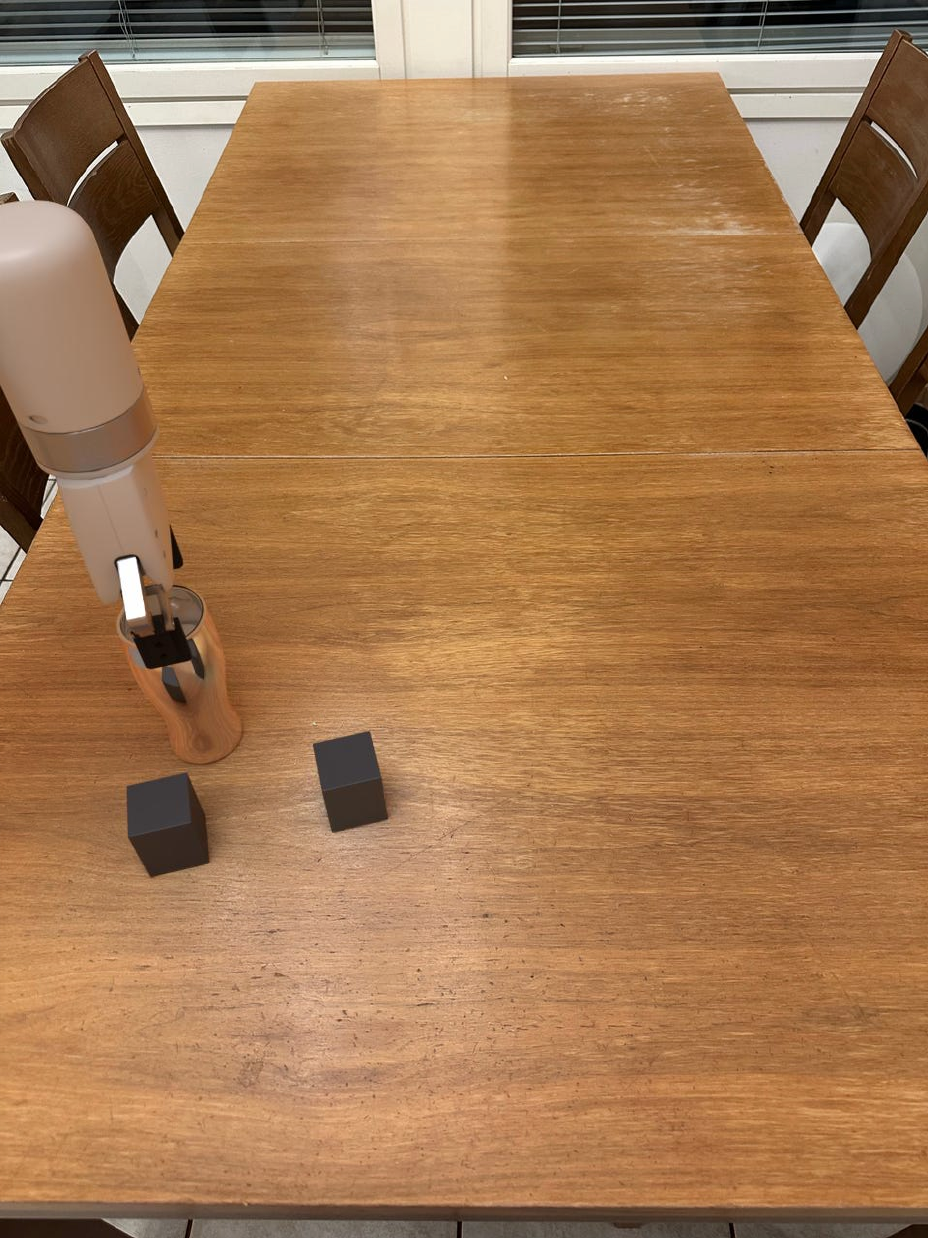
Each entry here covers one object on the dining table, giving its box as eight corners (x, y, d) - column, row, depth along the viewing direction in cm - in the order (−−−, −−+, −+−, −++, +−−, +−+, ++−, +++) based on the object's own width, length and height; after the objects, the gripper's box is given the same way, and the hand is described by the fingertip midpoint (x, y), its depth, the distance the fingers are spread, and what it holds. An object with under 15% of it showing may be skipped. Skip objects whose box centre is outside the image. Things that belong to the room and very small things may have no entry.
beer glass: (221, 779, 78) (175, 662, 67) (149, 755, 79) (93, 637, 68) (262, 715, 82) (226, 595, 71) (193, 693, 84) (147, 573, 73)
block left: (149, 877, 72) (127, 837, 67) (147, 827, 75) (126, 785, 70) (209, 863, 72) (191, 822, 68) (205, 813, 75) (187, 771, 71)
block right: (331, 833, 74) (321, 791, 70) (322, 786, 77) (312, 743, 73) (388, 819, 75) (381, 777, 70) (376, 773, 78) (370, 730, 73)
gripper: (31, 357, 62) (113, 546, 75) (18, 526, 51) (116, 716, 63) (147, 337, 63) (208, 527, 76) (159, 499, 52) (228, 691, 65)
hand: (166, 613), depth 70 cm, fingers open, 9 cm apart
